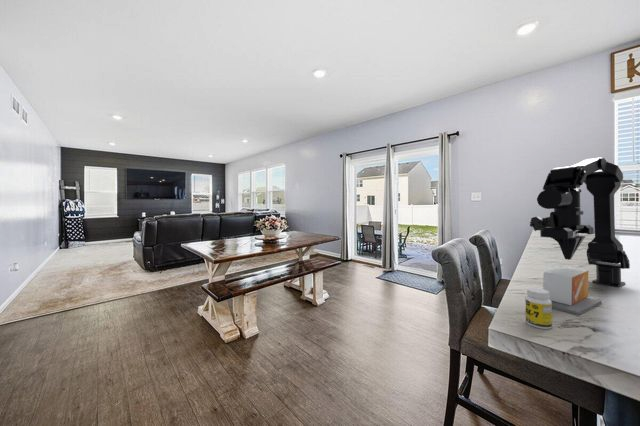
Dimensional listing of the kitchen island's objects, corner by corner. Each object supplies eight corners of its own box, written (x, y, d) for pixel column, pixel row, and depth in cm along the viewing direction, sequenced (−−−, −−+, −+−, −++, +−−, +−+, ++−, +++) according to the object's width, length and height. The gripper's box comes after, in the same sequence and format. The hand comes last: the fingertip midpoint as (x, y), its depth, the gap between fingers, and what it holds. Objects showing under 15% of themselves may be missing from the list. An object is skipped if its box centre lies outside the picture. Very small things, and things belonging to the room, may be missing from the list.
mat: (552, 292, 81) (552, 290, 81) (601, 303, 71) (601, 300, 71) (528, 301, 74) (528, 299, 74) (578, 315, 64) (578, 312, 64)
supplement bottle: (520, 321, 62) (519, 287, 62) (538, 319, 63) (537, 286, 62) (539, 330, 57) (538, 294, 57) (557, 328, 58) (557, 292, 58)
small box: (589, 296, 74) (572, 306, 68) (560, 290, 80) (542, 299, 73) (589, 269, 74) (572, 277, 68) (561, 265, 79) (542, 272, 73)
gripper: (548, 207, 87) (549, 252, 87) (519, 209, 79) (520, 258, 79) (593, 207, 77) (594, 257, 77) (566, 208, 69) (567, 265, 69)
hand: (567, 259), depth 76 cm, fingers closed
